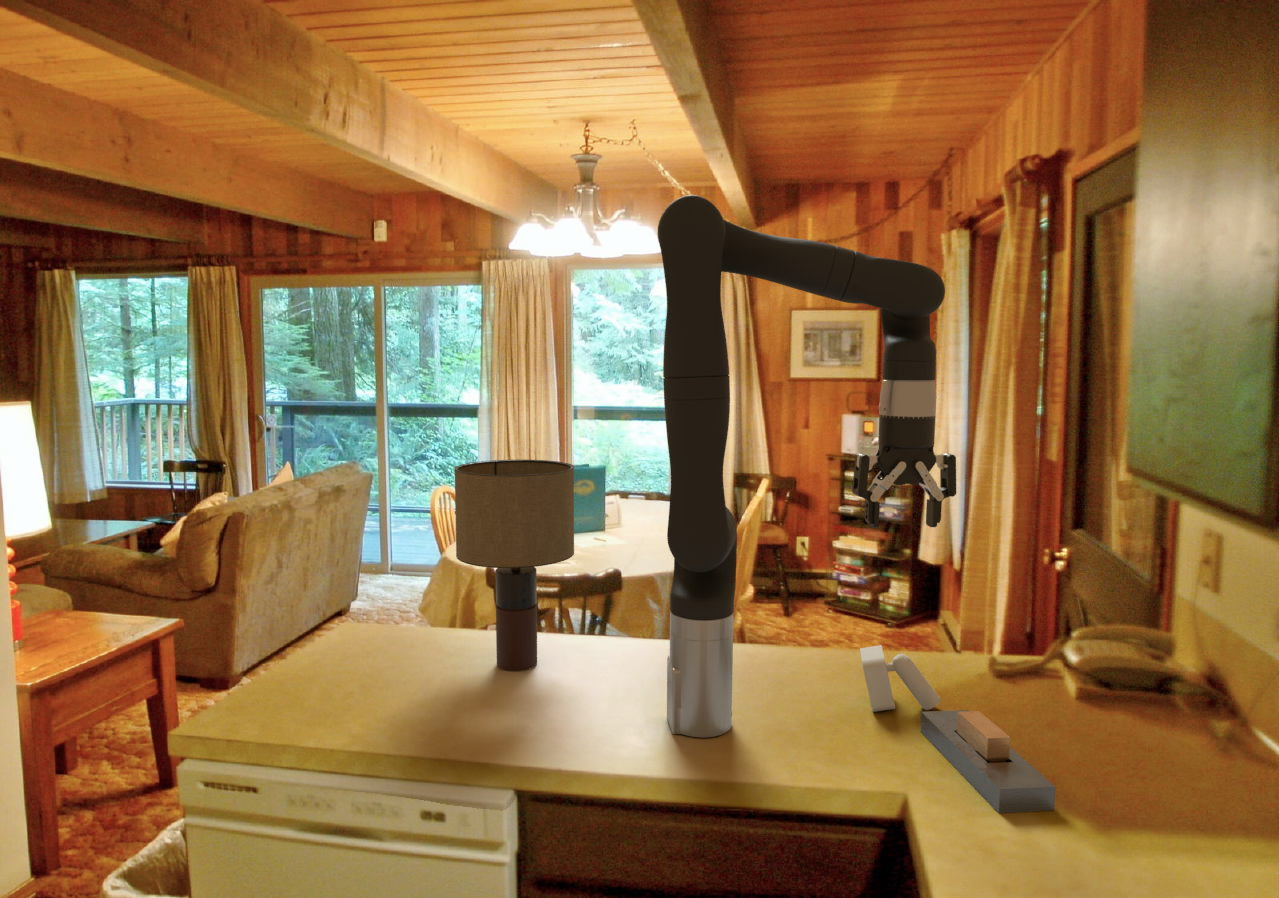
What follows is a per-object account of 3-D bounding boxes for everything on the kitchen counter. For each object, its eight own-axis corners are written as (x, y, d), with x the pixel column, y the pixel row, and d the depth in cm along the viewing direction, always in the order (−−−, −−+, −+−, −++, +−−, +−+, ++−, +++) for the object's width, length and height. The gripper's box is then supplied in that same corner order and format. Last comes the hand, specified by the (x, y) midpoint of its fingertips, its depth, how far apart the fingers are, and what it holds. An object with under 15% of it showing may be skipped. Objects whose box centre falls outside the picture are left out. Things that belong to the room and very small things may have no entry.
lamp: (568, 686, 139) (567, 475, 135) (446, 685, 139) (441, 474, 135) (579, 644, 159) (578, 459, 155) (471, 643, 159) (468, 459, 155)
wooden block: (1007, 778, 108) (1010, 737, 108) (985, 779, 108) (987, 738, 107) (976, 749, 116) (978, 710, 116) (955, 750, 116) (957, 711, 115)
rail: (1054, 810, 102) (1055, 786, 101) (998, 812, 101) (999, 789, 101) (966, 729, 124) (967, 709, 123) (920, 731, 123) (921, 711, 122)
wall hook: (946, 716, 126) (932, 652, 126) (875, 726, 129) (862, 663, 128) (938, 695, 134) (925, 635, 134) (872, 705, 137) (859, 645, 136)
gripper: (867, 414, 114) (863, 533, 116) (968, 414, 115) (963, 531, 117) (848, 410, 121) (844, 522, 123) (944, 410, 123) (939, 520, 125)
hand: (902, 526), depth 120 cm, fingers open, 8 cm apart
